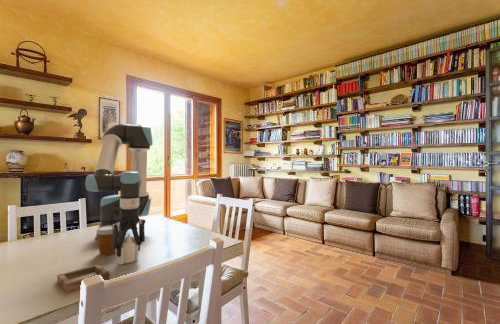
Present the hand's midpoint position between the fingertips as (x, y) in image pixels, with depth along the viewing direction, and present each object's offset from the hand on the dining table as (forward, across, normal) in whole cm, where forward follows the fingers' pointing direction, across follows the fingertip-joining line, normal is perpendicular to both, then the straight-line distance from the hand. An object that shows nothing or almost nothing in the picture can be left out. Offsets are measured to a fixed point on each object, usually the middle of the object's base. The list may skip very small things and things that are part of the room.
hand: (128, 261), depth 108 cm
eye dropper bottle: (+1, 0, 0) cm, 1 cm away
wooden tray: (0, -18, -4) cm, 19 cm away
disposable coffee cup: (+1, -1, +18) cm, 18 cm away
